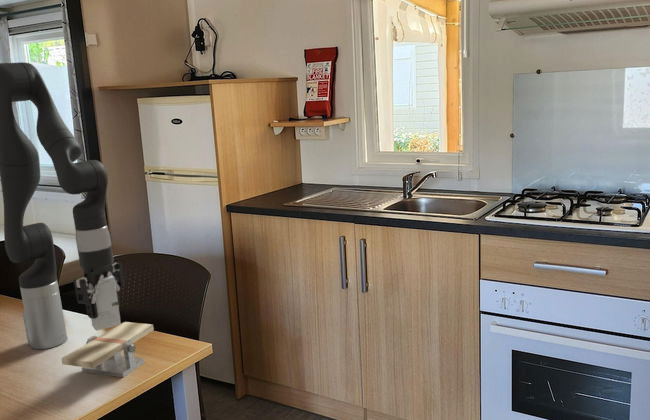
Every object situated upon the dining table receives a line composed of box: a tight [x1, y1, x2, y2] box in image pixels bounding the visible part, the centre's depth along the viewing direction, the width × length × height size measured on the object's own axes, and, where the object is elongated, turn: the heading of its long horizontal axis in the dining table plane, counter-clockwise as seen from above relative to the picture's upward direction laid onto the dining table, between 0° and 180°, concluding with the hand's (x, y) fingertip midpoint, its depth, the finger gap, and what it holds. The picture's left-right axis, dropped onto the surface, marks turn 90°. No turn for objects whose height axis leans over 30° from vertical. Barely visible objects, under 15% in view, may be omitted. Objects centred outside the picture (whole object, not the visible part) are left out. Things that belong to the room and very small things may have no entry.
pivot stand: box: [81, 335, 146, 378], centre depth 151 cm, size 14×8×7 cm, turn 68°
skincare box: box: [89, 276, 122, 332], centre depth 148 cm, size 6×4×12 cm
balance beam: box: [61, 321, 155, 368], centre depth 150 cm, size 9×22×2 cm, turn 158°
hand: (105, 311), depth 148 cm, fingers closed on skincare box, 7 cm apart
